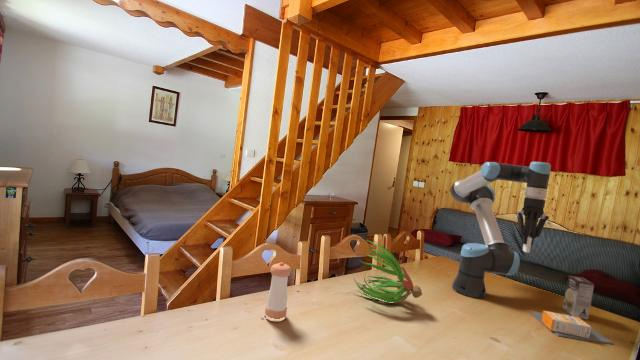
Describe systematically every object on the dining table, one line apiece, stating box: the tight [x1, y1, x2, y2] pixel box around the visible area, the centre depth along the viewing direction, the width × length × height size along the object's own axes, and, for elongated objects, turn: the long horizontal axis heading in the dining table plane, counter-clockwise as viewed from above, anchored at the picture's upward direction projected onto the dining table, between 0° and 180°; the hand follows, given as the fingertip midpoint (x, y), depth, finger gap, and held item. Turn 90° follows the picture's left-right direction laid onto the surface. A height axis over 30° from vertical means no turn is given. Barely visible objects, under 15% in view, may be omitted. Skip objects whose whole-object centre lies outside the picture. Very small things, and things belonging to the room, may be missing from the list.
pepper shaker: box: [264, 261, 292, 319], centre depth 111 cm, size 7×7×19 cm
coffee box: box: [562, 275, 595, 320], centre depth 147 cm, size 9×6×16 cm
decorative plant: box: [353, 239, 423, 303], centre depth 135 cm, size 26×25×30 cm
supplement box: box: [542, 310, 592, 338], centre depth 128 cm, size 8×5×13 cm
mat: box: [530, 312, 614, 345], centre depth 131 cm, size 20×18×1 cm
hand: (526, 251), depth 141 cm, fingers closed
